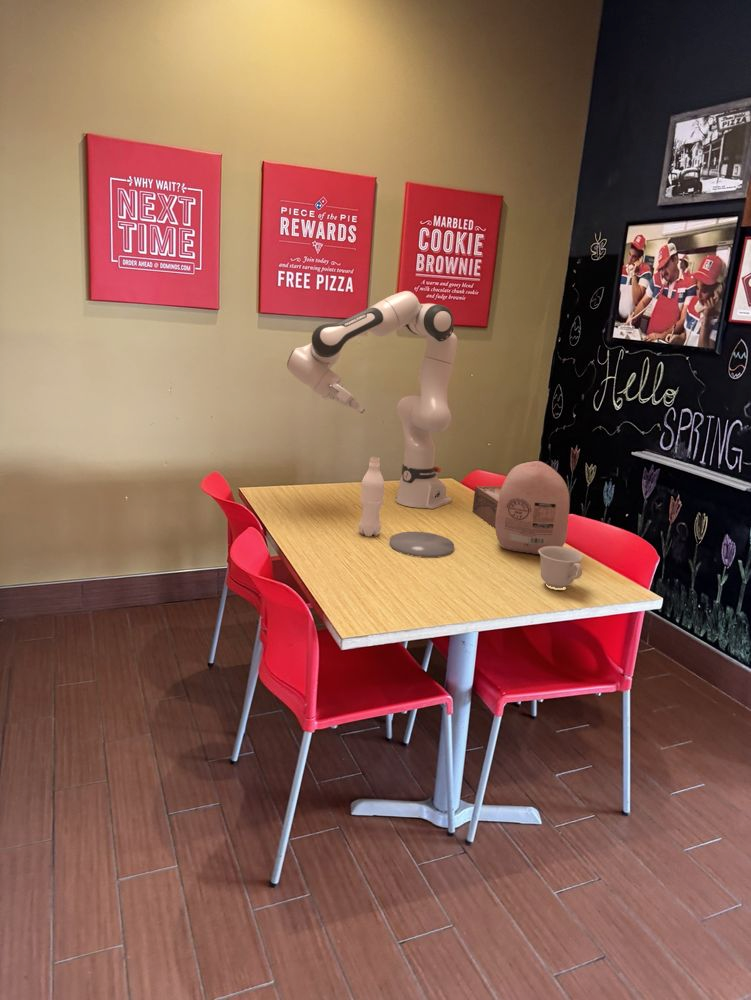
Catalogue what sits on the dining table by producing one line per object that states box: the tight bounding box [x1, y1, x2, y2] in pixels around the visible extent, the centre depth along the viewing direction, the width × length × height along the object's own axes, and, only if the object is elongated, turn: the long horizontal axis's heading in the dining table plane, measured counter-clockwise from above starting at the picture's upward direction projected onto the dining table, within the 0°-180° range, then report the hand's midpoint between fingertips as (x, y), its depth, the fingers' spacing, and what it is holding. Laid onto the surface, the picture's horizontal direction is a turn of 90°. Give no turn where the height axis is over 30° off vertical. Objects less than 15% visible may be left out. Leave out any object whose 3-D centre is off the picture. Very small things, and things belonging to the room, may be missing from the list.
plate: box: [388, 531, 455, 558], centre depth 223 cm, size 20×20×1 cm
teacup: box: [538, 546, 584, 588], centre depth 197 cm, size 12×15×10 cm
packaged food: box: [495, 459, 570, 555], centre depth 221 cm, size 22×20×30 cm
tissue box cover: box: [471, 485, 503, 530], centre depth 252 cm, size 26×14×10 cm, turn 16°
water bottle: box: [358, 456, 385, 538], centre depth 227 cm, size 7×7×25 cm
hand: (363, 411), depth 237 cm, fingers open, 8 cm apart
